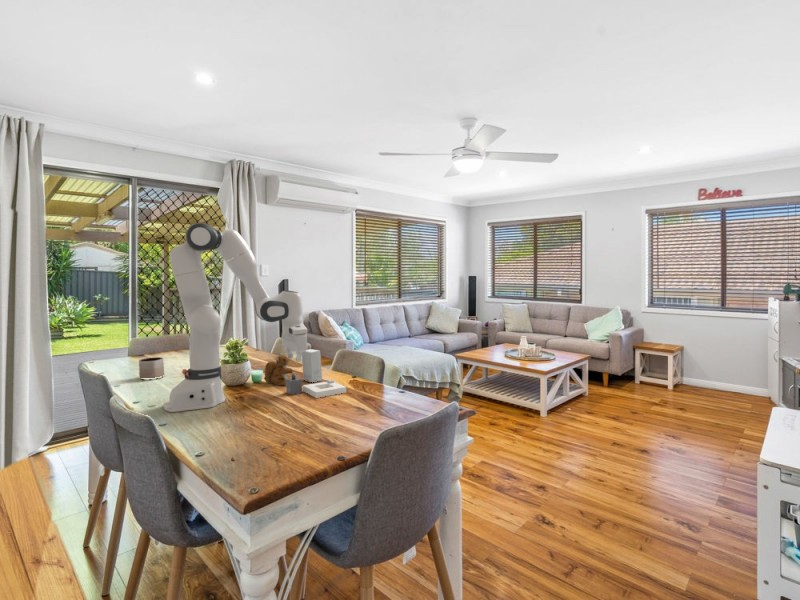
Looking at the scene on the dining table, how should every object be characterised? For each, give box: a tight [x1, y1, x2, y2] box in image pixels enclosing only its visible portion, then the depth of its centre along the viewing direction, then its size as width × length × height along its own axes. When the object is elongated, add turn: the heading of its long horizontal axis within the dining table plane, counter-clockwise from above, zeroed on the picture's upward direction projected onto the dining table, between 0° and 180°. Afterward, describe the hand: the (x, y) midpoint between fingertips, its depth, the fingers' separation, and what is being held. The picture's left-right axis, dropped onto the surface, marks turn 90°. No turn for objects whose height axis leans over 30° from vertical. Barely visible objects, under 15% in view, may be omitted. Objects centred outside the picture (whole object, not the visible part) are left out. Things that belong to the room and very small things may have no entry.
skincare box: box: [301, 348, 323, 384], centre depth 213 cm, size 8×6×15 cm
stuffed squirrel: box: [263, 354, 294, 386], centre depth 210 cm, size 10×14×13 cm
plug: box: [285, 373, 303, 396], centre depth 192 cm, size 5×5×8 cm
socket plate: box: [302, 379, 347, 399], centre depth 193 cm, size 14×14×3 cm
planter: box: [138, 356, 165, 379], centre depth 223 cm, size 11×11×10 cm
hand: (294, 359), depth 192 cm, fingers open, 8 cm apart
